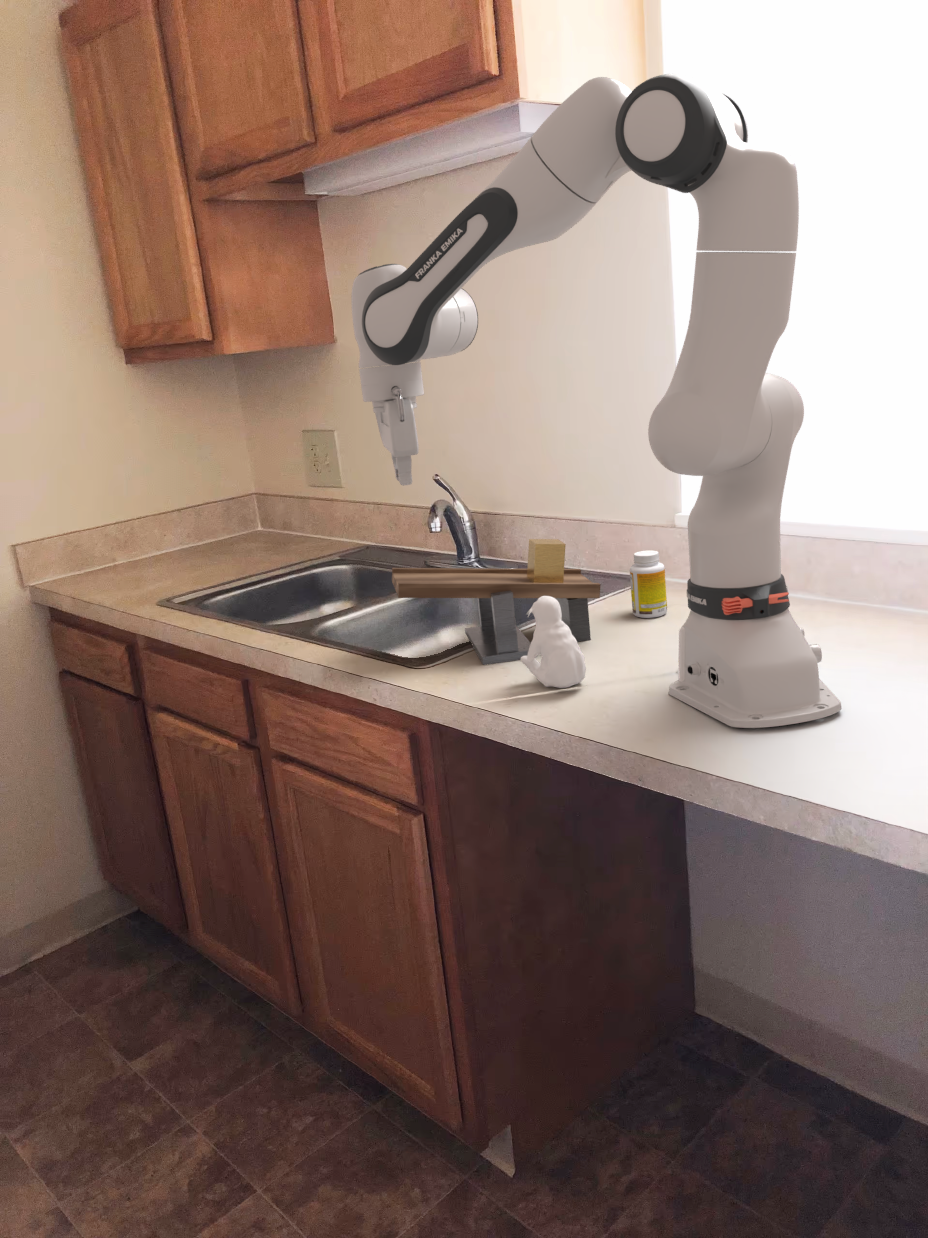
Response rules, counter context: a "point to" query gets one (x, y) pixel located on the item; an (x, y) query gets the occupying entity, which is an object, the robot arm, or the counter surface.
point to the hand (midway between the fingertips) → (404, 482)
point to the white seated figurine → (553, 647)
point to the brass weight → (546, 561)
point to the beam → (487, 583)
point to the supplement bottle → (648, 585)
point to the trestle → (505, 639)
